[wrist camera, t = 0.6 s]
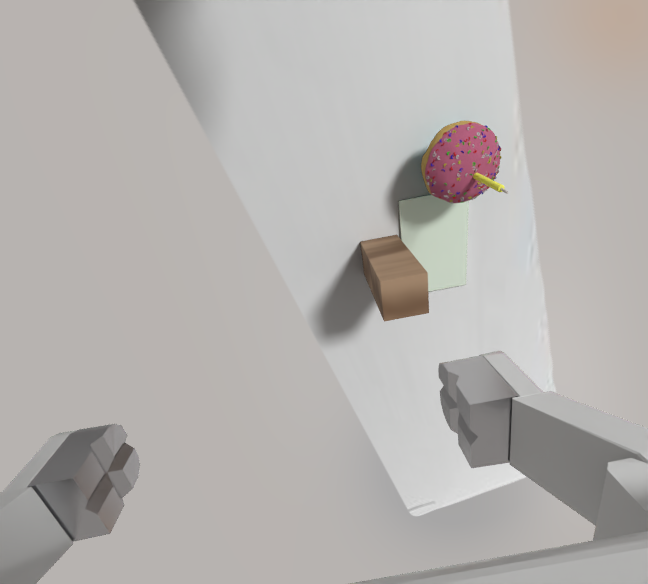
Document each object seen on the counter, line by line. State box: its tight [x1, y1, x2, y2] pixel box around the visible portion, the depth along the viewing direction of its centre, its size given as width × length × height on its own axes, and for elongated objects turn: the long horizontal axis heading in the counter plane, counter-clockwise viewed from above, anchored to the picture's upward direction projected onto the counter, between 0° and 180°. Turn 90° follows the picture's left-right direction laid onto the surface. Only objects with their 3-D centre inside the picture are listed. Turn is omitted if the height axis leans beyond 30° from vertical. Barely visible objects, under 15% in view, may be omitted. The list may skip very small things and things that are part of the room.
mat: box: [399, 195, 469, 292], centre depth 47 cm, size 14×9×1 cm, turn 10°
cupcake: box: [421, 121, 508, 204], centre depth 37 cm, size 9×8×12 cm
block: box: [360, 235, 429, 321], centre depth 42 cm, size 5×5×12 cm
